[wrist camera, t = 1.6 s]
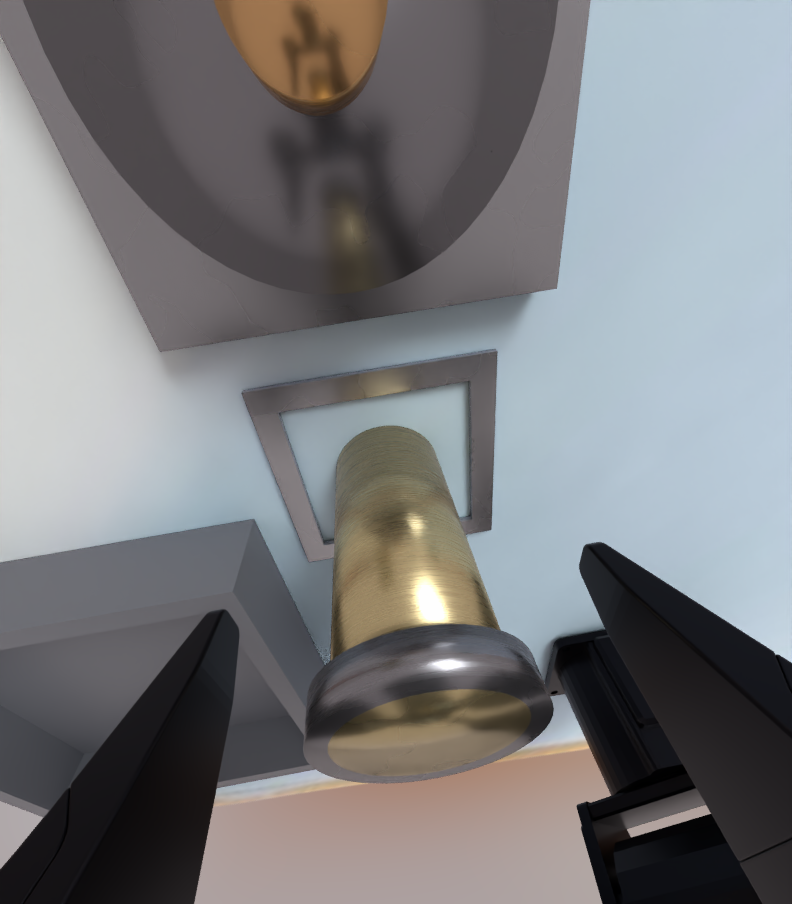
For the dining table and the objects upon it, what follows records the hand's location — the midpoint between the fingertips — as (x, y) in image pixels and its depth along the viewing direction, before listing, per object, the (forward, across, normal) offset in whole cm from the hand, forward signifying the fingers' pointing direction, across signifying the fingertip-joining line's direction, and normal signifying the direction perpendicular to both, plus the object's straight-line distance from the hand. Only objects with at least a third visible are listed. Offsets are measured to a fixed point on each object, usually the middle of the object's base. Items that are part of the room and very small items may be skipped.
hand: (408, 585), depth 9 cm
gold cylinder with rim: (+5, 0, 0) cm, 5 cm away
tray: (+5, +13, +9) cm, 17 cm away
